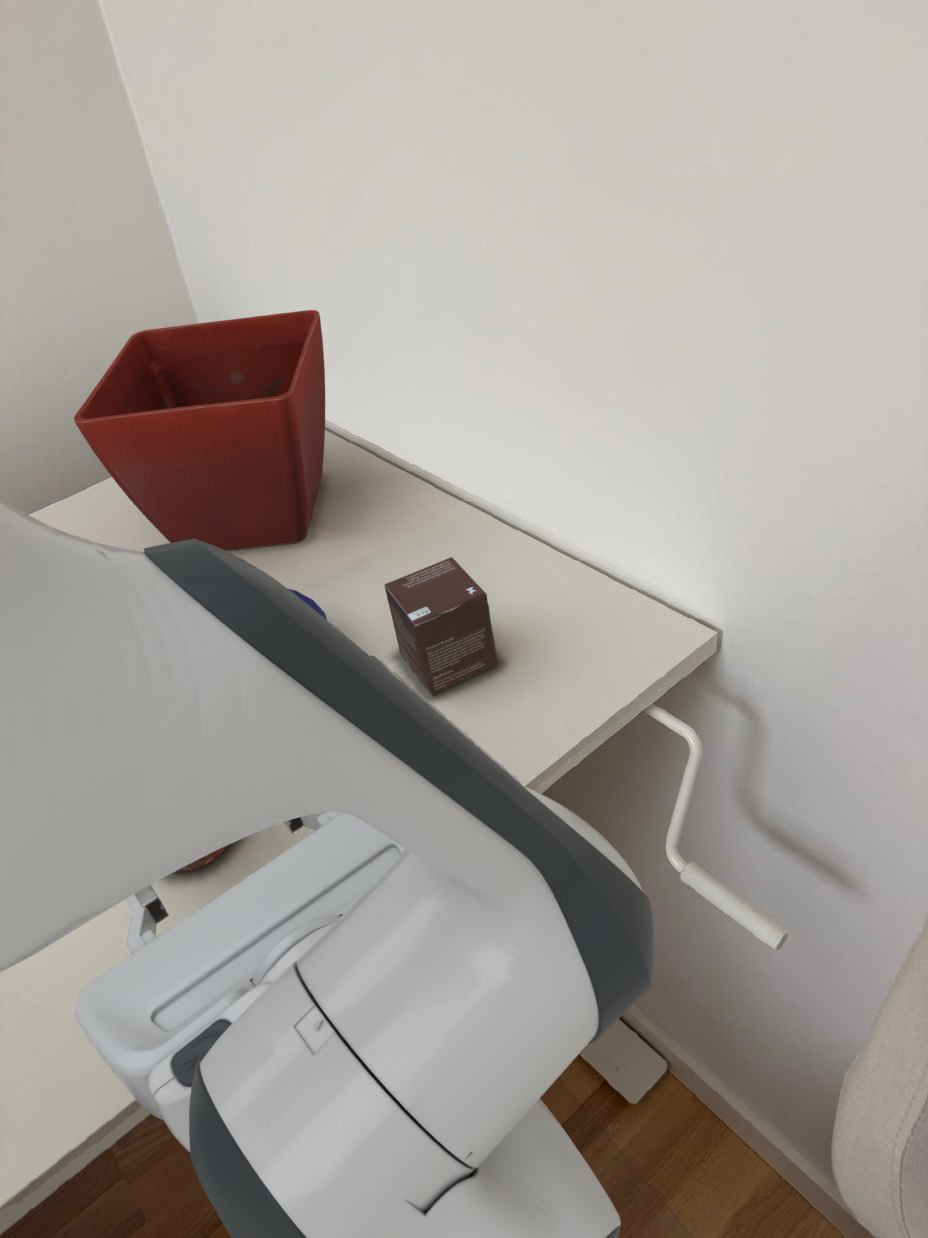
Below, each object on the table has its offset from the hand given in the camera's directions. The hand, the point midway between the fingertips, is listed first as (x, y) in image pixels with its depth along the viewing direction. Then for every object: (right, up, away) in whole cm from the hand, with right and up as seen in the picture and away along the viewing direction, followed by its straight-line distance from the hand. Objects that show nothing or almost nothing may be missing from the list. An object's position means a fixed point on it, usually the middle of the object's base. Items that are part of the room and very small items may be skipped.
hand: (214, 845), depth 55 cm
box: (+13, +10, +20) cm, 26 cm away
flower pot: (-7, +24, +42) cm, 49 cm away
